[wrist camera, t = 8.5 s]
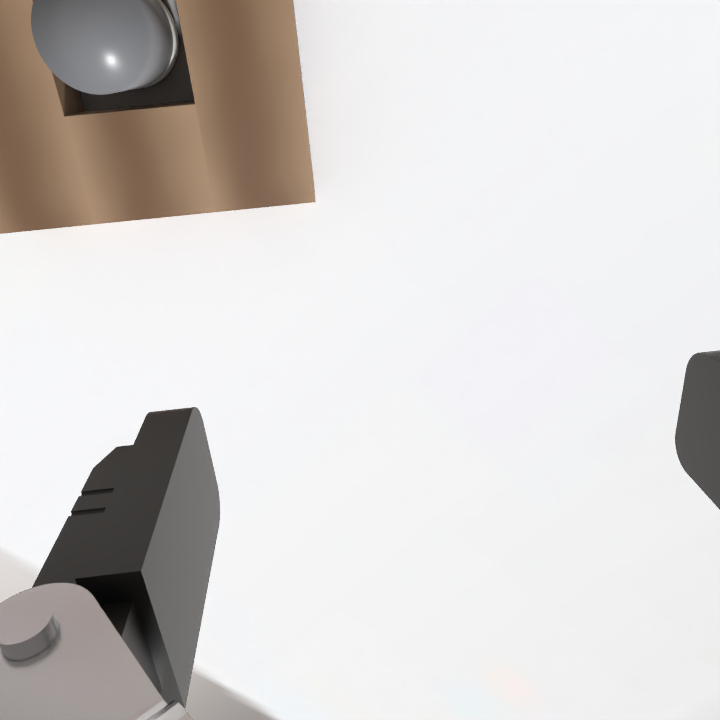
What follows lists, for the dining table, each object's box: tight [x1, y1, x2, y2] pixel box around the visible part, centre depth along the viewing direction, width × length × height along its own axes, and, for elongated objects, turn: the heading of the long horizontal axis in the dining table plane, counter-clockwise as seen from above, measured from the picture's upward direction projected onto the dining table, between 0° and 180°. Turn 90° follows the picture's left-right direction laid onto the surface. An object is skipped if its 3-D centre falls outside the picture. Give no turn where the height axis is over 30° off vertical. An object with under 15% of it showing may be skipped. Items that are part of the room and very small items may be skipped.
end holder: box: [0, 0, 315, 234], centre depth 29 cm, size 16×16×3 cm
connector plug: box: [31, 0, 179, 95], centre depth 27 cm, size 4×4×6 cm
